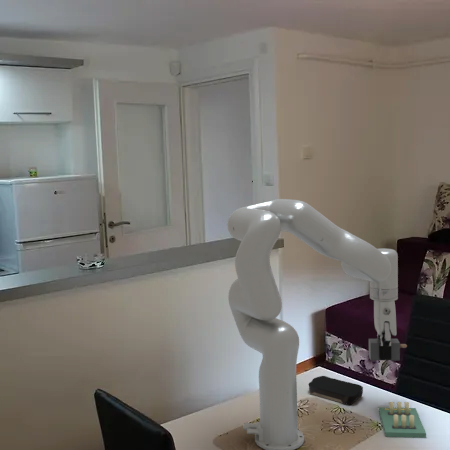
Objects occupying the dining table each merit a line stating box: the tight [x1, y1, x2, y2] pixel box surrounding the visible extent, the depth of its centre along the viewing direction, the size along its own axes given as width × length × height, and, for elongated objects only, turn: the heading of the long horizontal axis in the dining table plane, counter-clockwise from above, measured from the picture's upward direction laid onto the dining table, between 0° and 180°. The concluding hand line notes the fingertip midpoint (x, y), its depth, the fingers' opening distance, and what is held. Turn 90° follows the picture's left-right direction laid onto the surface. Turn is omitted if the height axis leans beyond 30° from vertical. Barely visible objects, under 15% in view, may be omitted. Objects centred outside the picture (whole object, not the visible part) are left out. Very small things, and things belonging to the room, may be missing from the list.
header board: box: [378, 401, 427, 439], centre depth 160 cm, size 10×15×4 cm, turn 172°
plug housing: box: [368, 338, 408, 361], centre depth 169 cm, size 10×4×5 cm, turn 84°
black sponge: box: [308, 375, 364, 406], centre depth 180 cm, size 16×8×4 cm, turn 47°
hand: (384, 355), depth 169 cm, fingers closed on plug housing, 4 cm apart
